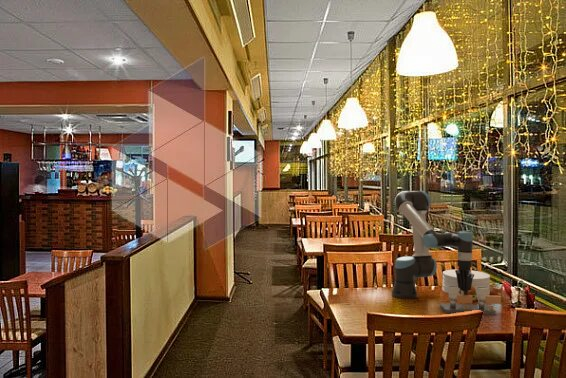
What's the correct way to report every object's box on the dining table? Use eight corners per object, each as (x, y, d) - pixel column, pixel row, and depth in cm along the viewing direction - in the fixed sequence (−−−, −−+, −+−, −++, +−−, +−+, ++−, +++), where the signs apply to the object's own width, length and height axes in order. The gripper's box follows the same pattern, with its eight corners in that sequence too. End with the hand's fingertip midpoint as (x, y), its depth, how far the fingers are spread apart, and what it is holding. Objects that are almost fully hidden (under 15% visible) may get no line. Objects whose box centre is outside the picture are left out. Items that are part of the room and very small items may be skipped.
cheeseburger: (481, 299, 274) (479, 283, 272) (473, 307, 267) (472, 291, 265) (464, 295, 282) (463, 280, 280) (456, 303, 275) (455, 287, 272)
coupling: (449, 303, 250) (449, 287, 250) (447, 300, 254) (447, 285, 254) (473, 304, 248) (473, 288, 248) (470, 301, 252) (471, 286, 252)
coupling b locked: (478, 303, 248) (478, 287, 248) (475, 301, 253) (475, 286, 253) (501, 304, 247) (502, 288, 247) (498, 302, 252) (498, 286, 251)
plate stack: (486, 299, 274) (486, 280, 274) (438, 293, 289) (438, 275, 289) (492, 290, 298) (492, 272, 298) (447, 284, 313) (448, 267, 313)
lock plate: (445, 313, 246) (445, 302, 246) (439, 306, 258) (439, 296, 258) (495, 314, 244) (495, 303, 244) (487, 308, 256) (487, 297, 256)
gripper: (451, 257, 259) (450, 299, 259) (466, 262, 246) (466, 305, 247) (462, 257, 261) (461, 298, 261) (478, 261, 248) (477, 304, 249)
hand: (463, 302), depth 254 cm, fingers closed
